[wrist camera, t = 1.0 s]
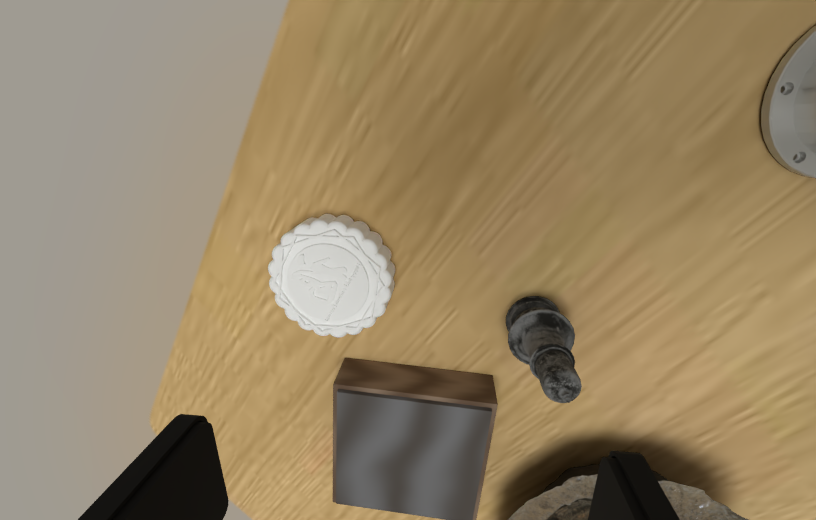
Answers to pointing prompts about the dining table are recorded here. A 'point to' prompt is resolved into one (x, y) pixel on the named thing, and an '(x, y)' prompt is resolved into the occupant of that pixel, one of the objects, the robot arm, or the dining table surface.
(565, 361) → the black chess piece
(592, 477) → the stone bowl
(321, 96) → the dining table surface
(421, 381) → the walnut base
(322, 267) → the mooncake
